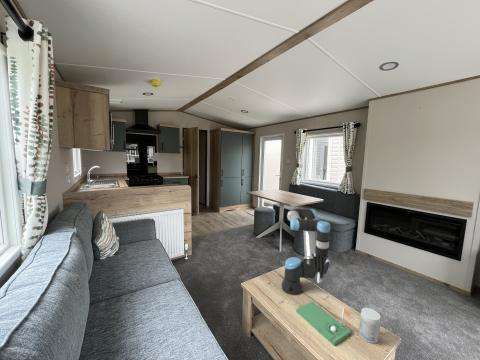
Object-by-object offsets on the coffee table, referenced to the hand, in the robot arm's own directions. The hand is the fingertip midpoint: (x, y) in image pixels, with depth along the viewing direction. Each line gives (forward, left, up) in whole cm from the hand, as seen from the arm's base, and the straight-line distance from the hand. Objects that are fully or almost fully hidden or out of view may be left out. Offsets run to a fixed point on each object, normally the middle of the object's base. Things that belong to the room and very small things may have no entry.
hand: (319, 281), depth 133 cm
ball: (+14, -3, -21) cm, 25 cm away
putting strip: (+6, -3, -22) cm, 23 cm away
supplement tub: (+26, +12, -23) cm, 36 cm away
